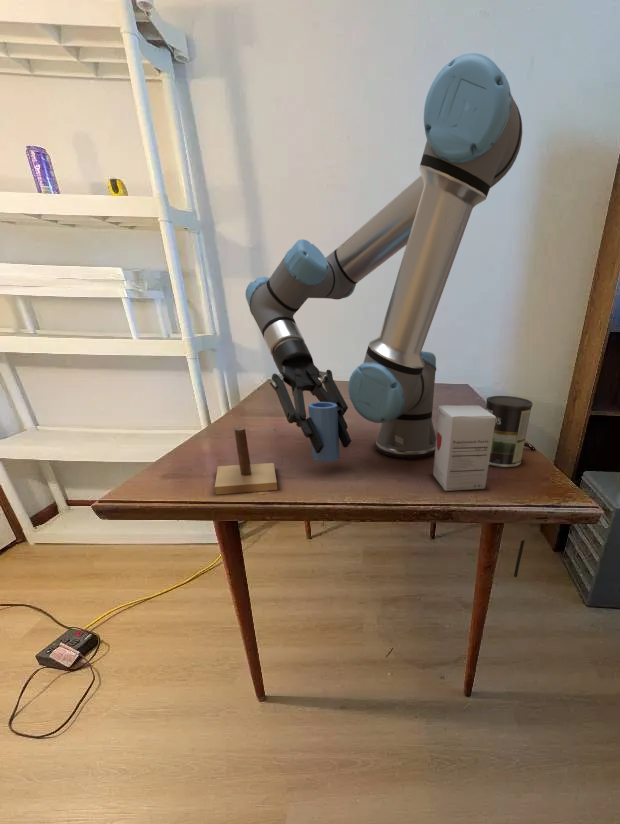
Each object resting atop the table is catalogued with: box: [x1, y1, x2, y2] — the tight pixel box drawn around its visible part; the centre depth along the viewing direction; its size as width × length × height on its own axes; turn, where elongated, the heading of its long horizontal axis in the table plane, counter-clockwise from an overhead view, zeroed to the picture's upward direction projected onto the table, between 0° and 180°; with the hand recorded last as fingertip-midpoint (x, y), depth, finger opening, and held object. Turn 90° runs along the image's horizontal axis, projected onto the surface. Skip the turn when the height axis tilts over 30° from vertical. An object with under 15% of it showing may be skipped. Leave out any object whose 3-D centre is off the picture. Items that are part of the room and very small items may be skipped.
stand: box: [214, 426, 278, 496], centre depth 82 cm, size 11×11×11 cm
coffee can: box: [485, 395, 534, 468], centre depth 100 cm, size 10×10×14 cm
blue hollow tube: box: [307, 401, 340, 463], centre depth 88 cm, size 6×6×11 cm
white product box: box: [432, 404, 496, 492], centre depth 86 cm, size 9×9×15 cm
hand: (334, 446), depth 86 cm, fingers closed on blue hollow tube, 6 cm apart
